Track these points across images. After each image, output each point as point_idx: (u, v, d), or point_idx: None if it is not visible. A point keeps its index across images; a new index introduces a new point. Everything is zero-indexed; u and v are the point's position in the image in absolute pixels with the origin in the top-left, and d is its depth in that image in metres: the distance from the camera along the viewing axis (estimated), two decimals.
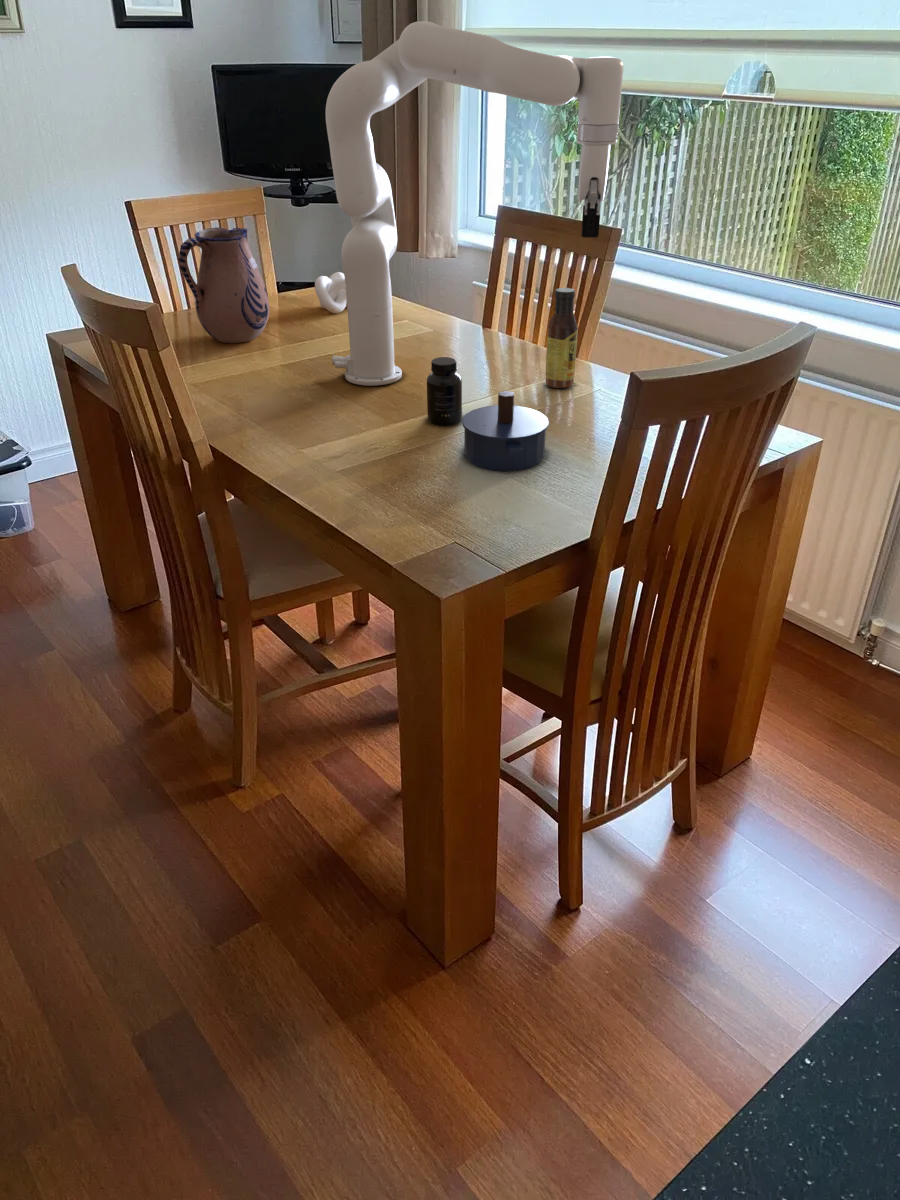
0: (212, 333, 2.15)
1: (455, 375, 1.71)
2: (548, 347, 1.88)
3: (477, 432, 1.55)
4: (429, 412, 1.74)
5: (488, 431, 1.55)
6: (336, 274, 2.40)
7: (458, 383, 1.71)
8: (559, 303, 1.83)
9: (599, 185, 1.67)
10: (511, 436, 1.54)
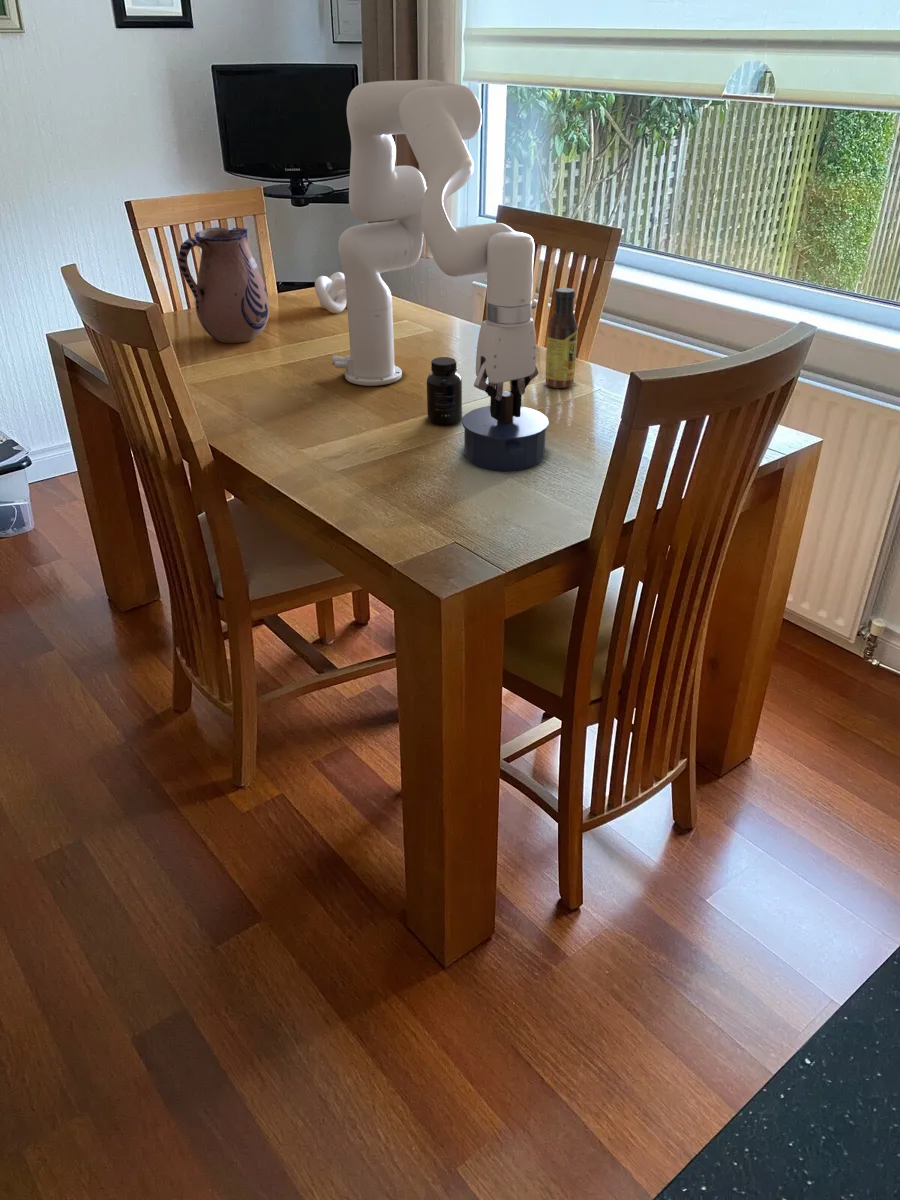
0: (212, 333, 2.15)
1: (455, 375, 1.71)
2: (548, 347, 1.88)
3: (477, 432, 1.55)
4: (429, 412, 1.74)
5: (488, 431, 1.55)
6: (336, 274, 2.40)
7: (458, 383, 1.71)
8: (559, 303, 1.83)
9: (486, 366, 1.50)
10: (511, 436, 1.54)
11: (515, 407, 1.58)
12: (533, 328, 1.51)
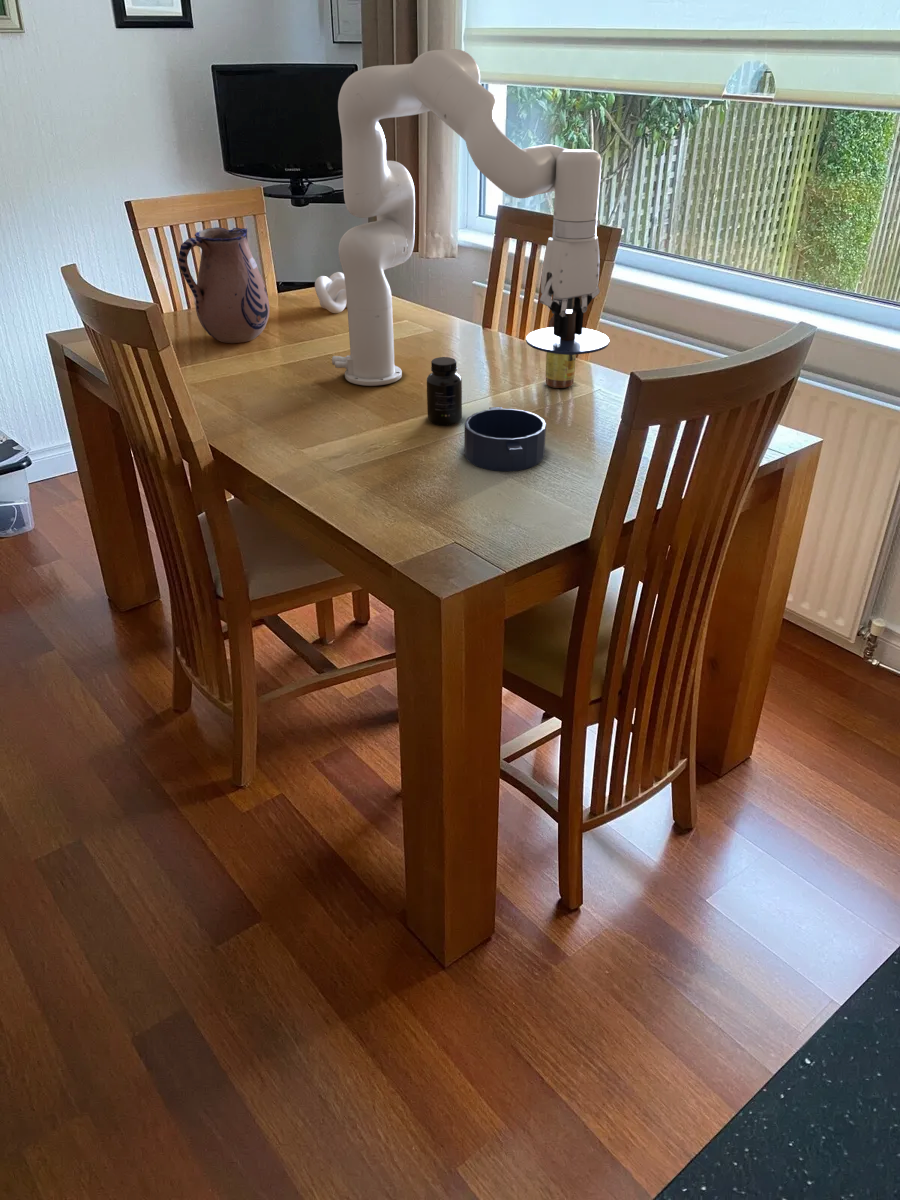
0: (212, 333, 2.15)
1: (455, 375, 1.71)
2: None
3: (542, 347, 1.62)
4: (429, 412, 1.74)
5: (552, 346, 1.62)
6: (336, 274, 2.40)
7: (458, 383, 1.71)
8: (559, 303, 1.83)
9: (552, 281, 1.57)
10: (575, 350, 1.60)
11: (577, 325, 1.64)
12: (597, 245, 1.57)
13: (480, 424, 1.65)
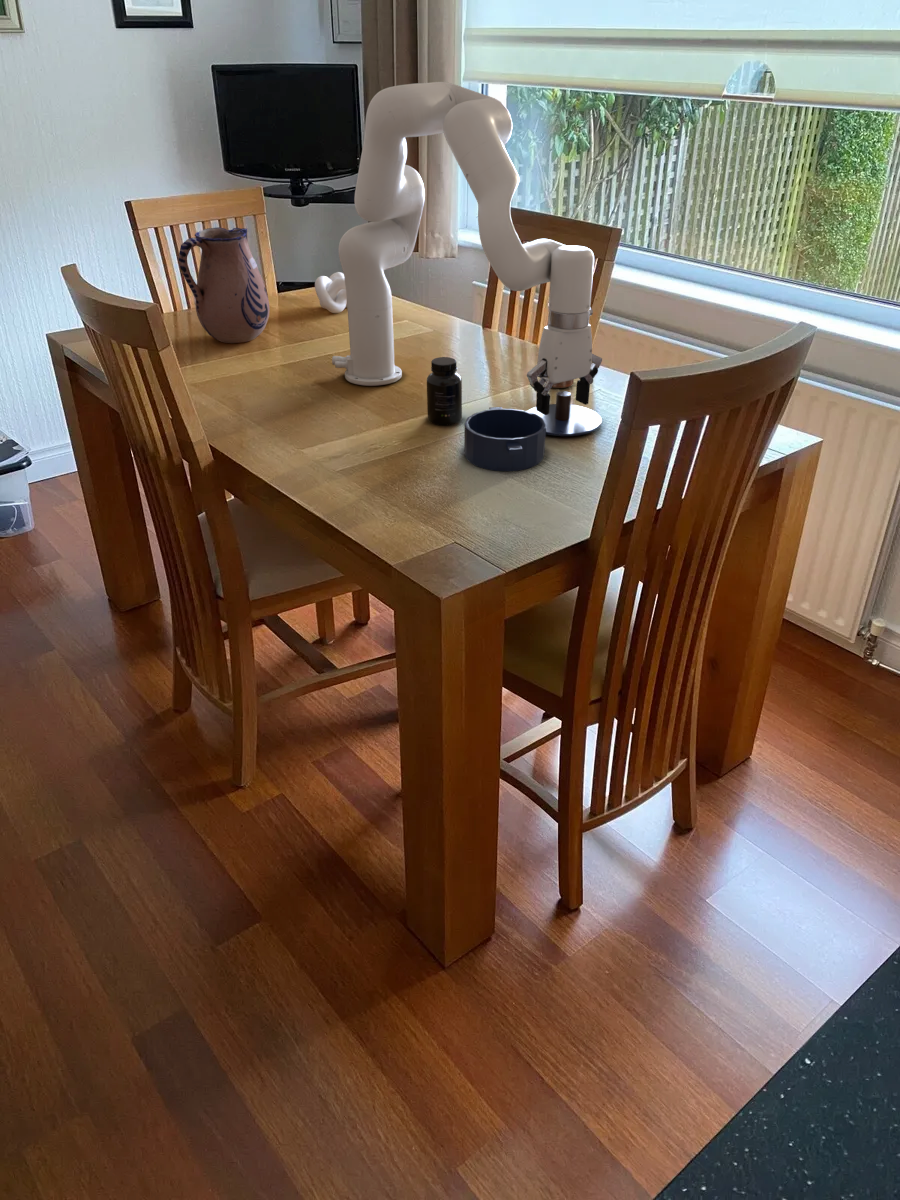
0: (212, 333, 2.15)
1: (455, 375, 1.71)
2: None
3: None
4: (429, 412, 1.74)
5: (548, 427, 1.71)
6: (336, 274, 2.40)
7: (458, 383, 1.71)
8: None
9: (547, 367, 1.65)
10: (569, 432, 1.69)
11: (584, 395, 1.74)
12: (590, 333, 1.66)
13: (480, 424, 1.65)
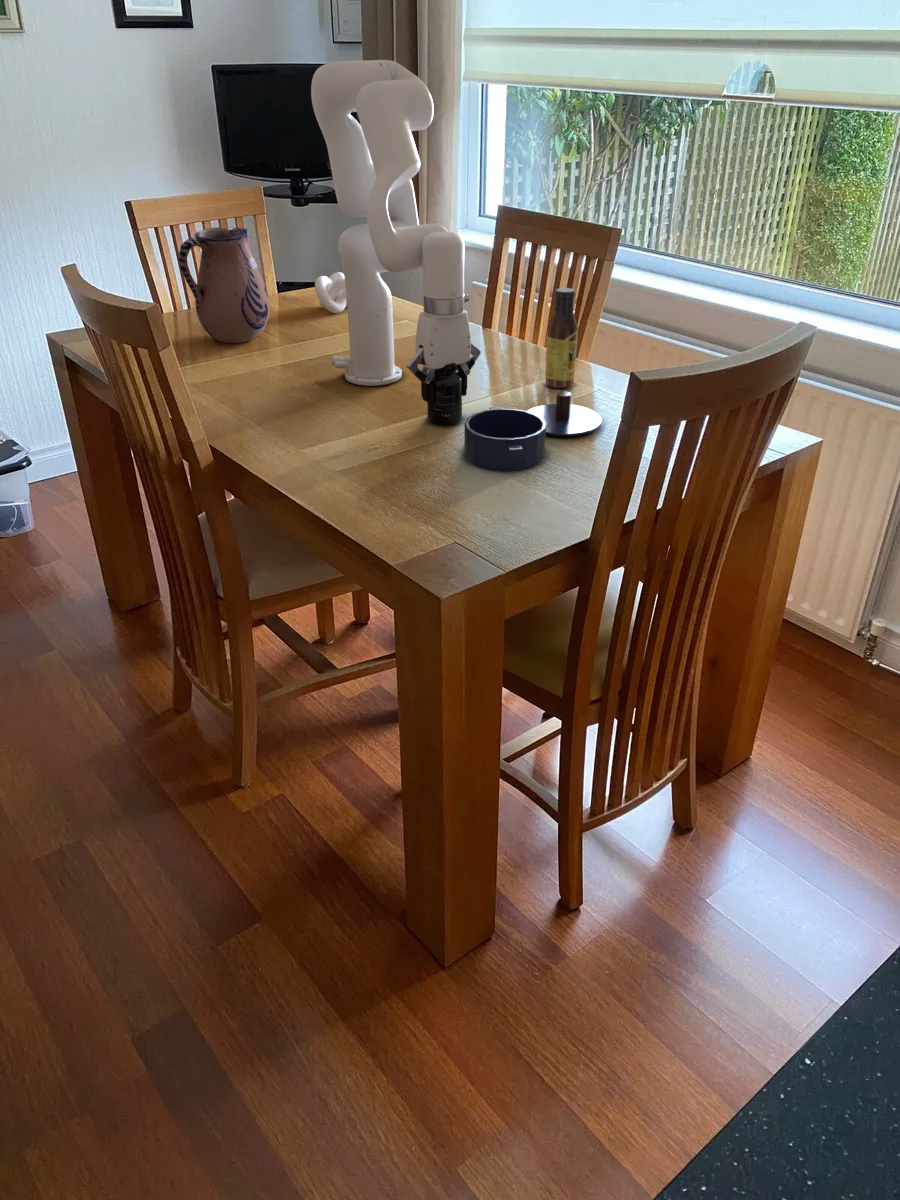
0: (212, 333, 2.15)
1: (455, 375, 1.71)
2: (548, 347, 1.88)
3: None
4: (429, 412, 1.74)
5: (548, 427, 1.71)
6: (336, 274, 2.40)
7: (458, 383, 1.71)
8: (559, 303, 1.83)
9: (424, 353, 1.66)
10: (569, 432, 1.69)
11: None
12: (466, 319, 1.66)
13: (480, 424, 1.65)
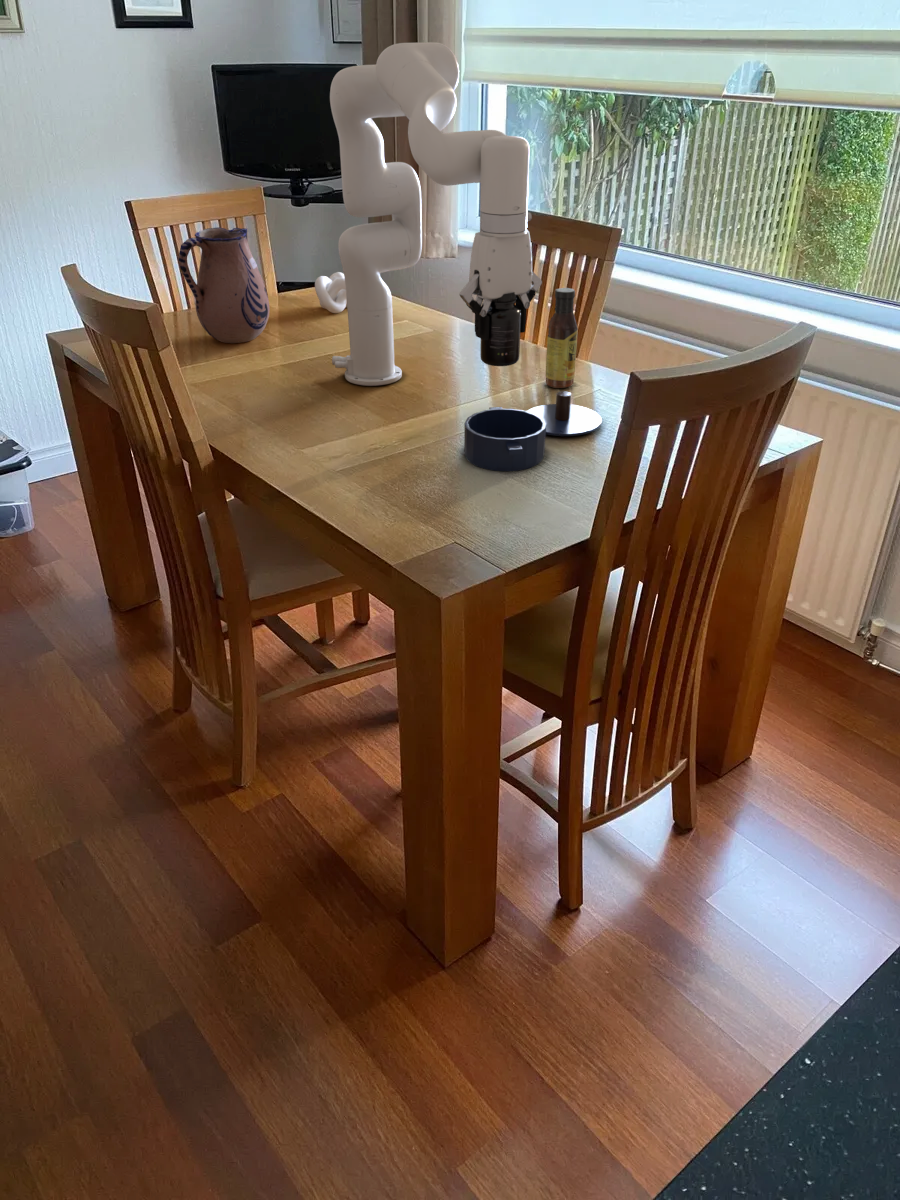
0: (212, 333, 2.15)
1: (514, 307, 1.49)
2: (548, 347, 1.88)
3: None
4: (483, 351, 1.53)
5: (548, 427, 1.71)
6: (336, 274, 2.40)
7: (518, 317, 1.49)
8: (559, 303, 1.83)
9: (480, 280, 1.44)
10: (569, 432, 1.69)
11: None
12: (529, 241, 1.45)
13: (480, 424, 1.65)
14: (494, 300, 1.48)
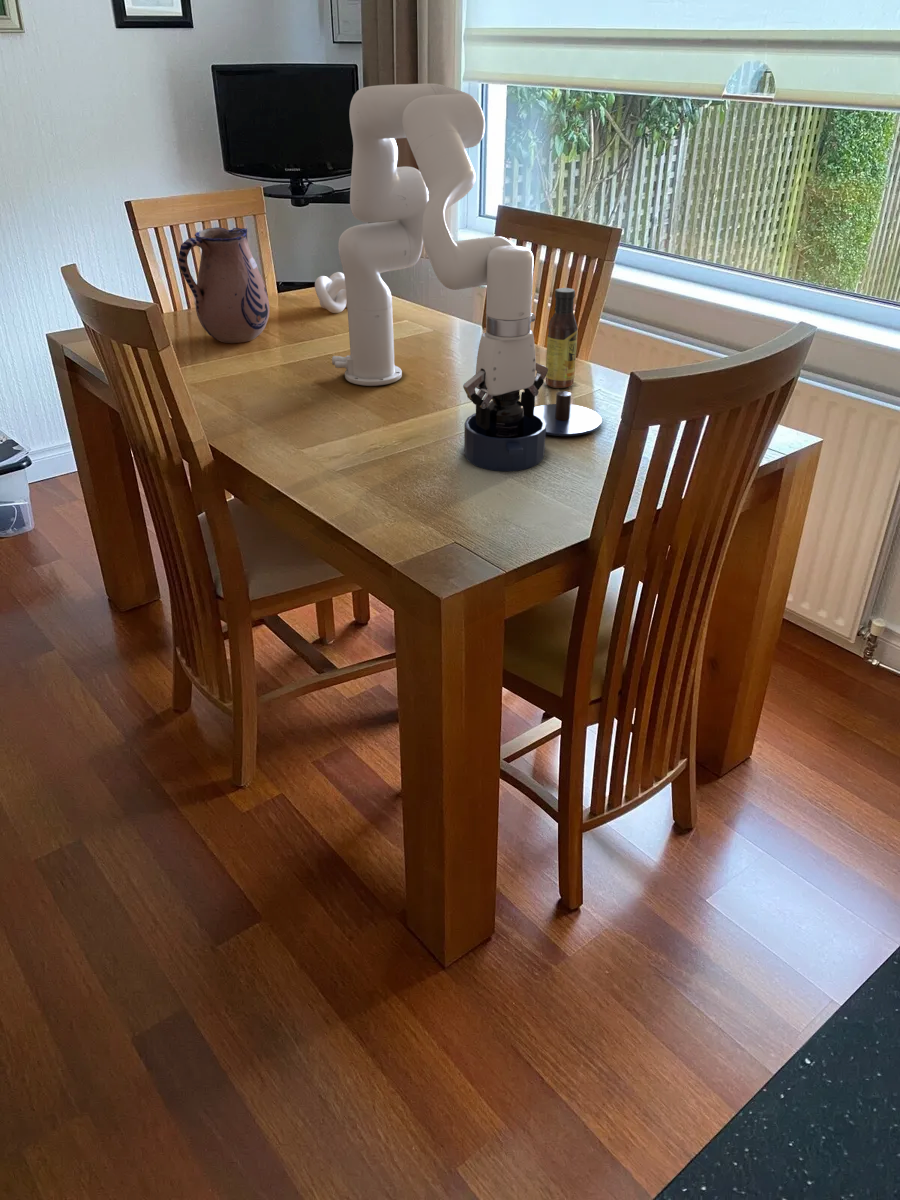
0: (212, 333, 2.15)
1: (517, 404, 1.57)
2: (548, 347, 1.88)
3: None
4: None
5: (548, 427, 1.71)
6: (336, 274, 2.40)
7: (521, 413, 1.57)
8: (559, 303, 1.83)
9: (486, 378, 1.52)
10: (569, 432, 1.69)
11: (529, 408, 1.60)
12: (532, 341, 1.52)
13: None
14: (499, 398, 1.55)
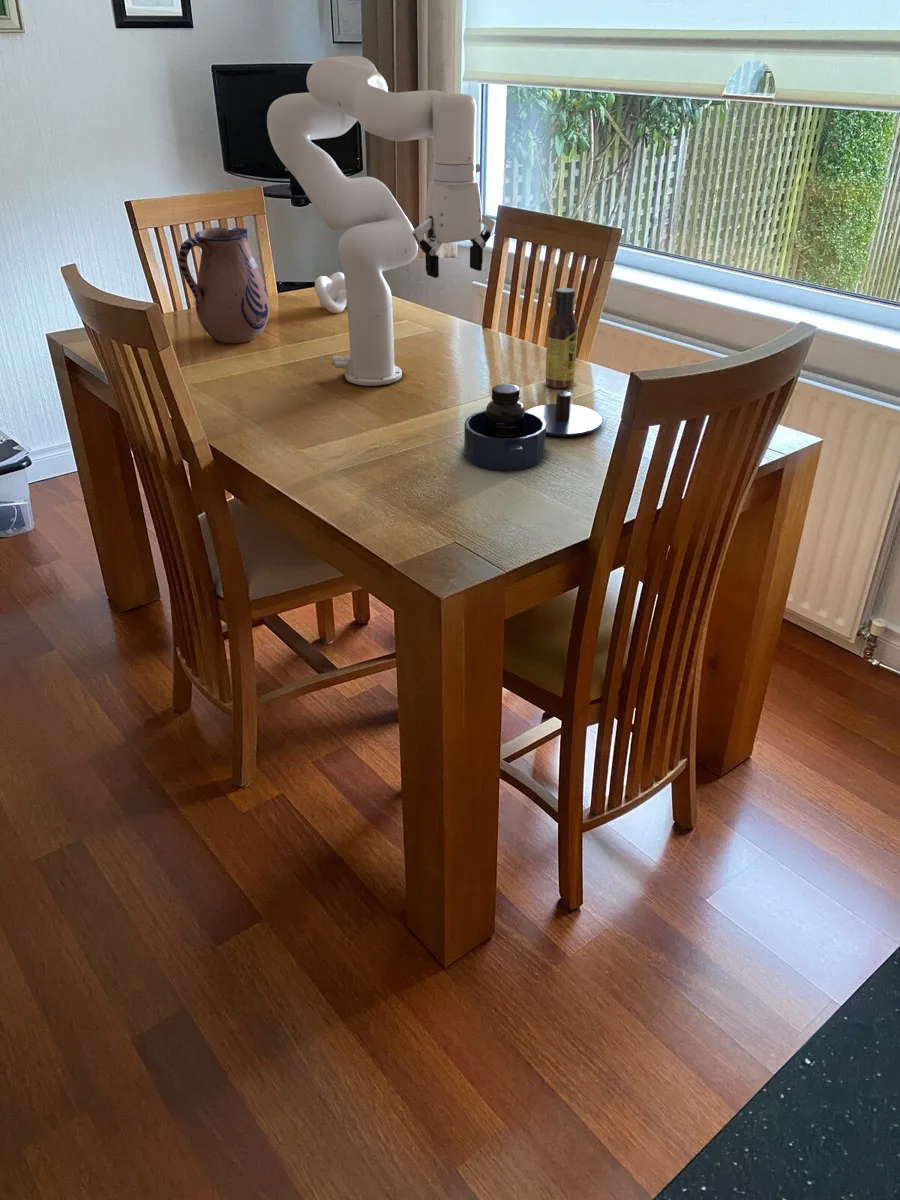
0: (212, 333, 2.15)
1: (517, 404, 1.57)
2: (548, 347, 1.88)
3: None
4: None
5: (548, 427, 1.71)
6: (336, 274, 2.40)
7: (521, 413, 1.57)
8: (559, 303, 1.83)
9: (434, 225, 1.61)
10: (569, 432, 1.69)
11: (477, 260, 1.69)
12: (478, 190, 1.61)
13: (480, 424, 1.65)
14: (499, 398, 1.55)
